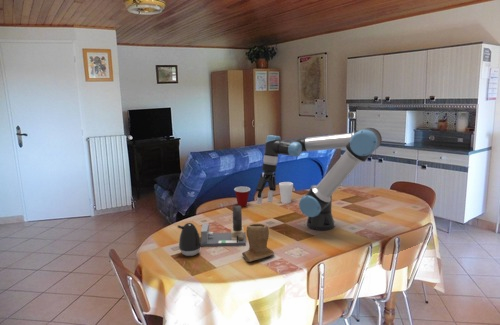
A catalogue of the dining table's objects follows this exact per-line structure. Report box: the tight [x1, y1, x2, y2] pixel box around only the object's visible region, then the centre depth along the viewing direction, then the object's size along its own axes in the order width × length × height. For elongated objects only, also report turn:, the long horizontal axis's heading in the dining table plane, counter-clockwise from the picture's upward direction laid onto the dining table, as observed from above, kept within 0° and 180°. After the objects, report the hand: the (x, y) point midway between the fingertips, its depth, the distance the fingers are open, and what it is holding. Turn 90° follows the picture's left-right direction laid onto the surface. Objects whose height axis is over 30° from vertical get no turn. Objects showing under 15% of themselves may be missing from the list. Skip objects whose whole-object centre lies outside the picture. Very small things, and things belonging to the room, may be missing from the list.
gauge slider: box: [230, 205, 245, 243], centre depth 188 cm, size 6×12×16 cm, turn 1°
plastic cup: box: [233, 186, 251, 208], centre depth 249 cm, size 11×11×12 cm
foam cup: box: [278, 181, 294, 204], centre depth 256 cm, size 10×9×13 cm
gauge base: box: [200, 222, 247, 248], centre depth 191 cm, size 22×14×8 cm, turn 91°
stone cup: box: [241, 223, 275, 263], centre depth 171 cm, size 15×12×15 cm
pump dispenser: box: [177, 222, 201, 257], centre depth 175 cm, size 10×10×15 cm
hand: (264, 202), depth 203 cm, fingers open, 13 cm apart
